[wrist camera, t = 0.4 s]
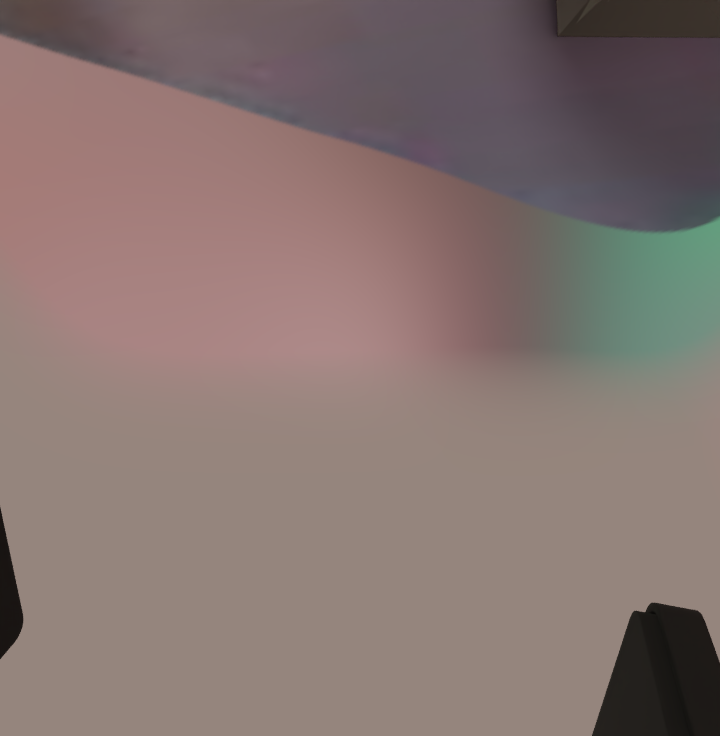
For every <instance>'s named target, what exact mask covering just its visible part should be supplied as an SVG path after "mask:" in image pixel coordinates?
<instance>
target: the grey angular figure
mask: <svg viewBox="0 0 720 736" xmlns="http://www.w3.org/2000/svg"><path fill="white" fill-rule="evenodd" d="M556 5H557V24H558V32H557V36H574V37H708V38H720V0H556Z"/></svg>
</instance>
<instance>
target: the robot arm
mask: <svg viewBox="0 0 720 736" xmlns="http://www.w3.org/2000/svg"><path fill="white" fill-rule="evenodd" d="M22 625H23V613H22V609H21V603H20V599H19V594H18V589H17V584H16V580H15V575H14V570H13V565H12V561H11V556H10V552H9V546H8V542H7V537H6V532H5V528H4V523H3V519H2V513H1V509H0V659H1V658H2V656H3V655H4V654H5V653H6V652H7V651H8V649H9V648H10V647H11V646H12V645H13V644H14V642H15V641H16V639H17V638H18V636H19V634H20V632H21V629H22ZM592 736H720V662H719V660H718V657H717V654H716V651H715V648H714V645H713V643H712V640H711V637H710V634H709V632H708V629H707V626H706V623H705V621H704V619H703V616H702V614H701V613H700V612H698V611H696V610H691V609H686V608H680V607H675V606H669V605H664V604H659V603H651V604H650V605H649V606H648V608H647V610H646V612H639V611H634V612H633V613H632V615H631V617H630V620H629V623H628V626H627V629H626V632H625V635H624V638H623V641H622V645H621V648H620V651H619V654H618V657H617V660H616V663H615V666H614V669H613V672H612V675H611V679H610V682H609V685H608V688H607V691H606V694H605V697H604V700H603V704H602V706H601V709H600V712H599V716H598V719H597V722H596V725H595V728H594V731H593V734H592Z"/></svg>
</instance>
